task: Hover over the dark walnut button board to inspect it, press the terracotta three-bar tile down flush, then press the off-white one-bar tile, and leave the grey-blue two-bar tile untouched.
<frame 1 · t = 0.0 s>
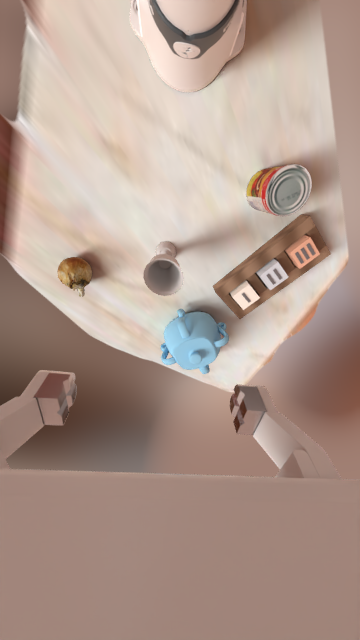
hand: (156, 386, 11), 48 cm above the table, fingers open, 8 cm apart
onion: (80, 269, 57), on the table
tile two: (272, 274, 54), point 5 cm above the table, slide at 0.0 cm
tile one: (244, 295, 57), point 5 cm above the table, slide at 0.0 cm
chalice: (165, 251, 55), on the table
decorative pot: (191, 329, 68), on the table
tile three: (302, 252, 52), point 5 cm above the table, slide at 0.0 cm
button board: (265, 268, 58), on the table
canned food: (263, 190, 49), on the table
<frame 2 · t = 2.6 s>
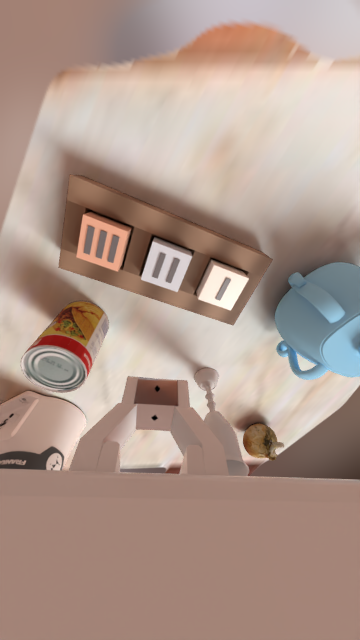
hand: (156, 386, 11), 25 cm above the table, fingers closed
onion: (255, 426, 56), on the table
tile two: (166, 265, 29), point 5 cm above the table, slide at 0.0 cm
tile one: (221, 285, 31), point 5 cm above the table, slide at 0.0 cm
chalice: (206, 376, 46), on the table
decorative pot: (315, 303, 38), on the table
tile three: (104, 242, 27), point 5 cm above the table, slide at 0.0 cm
button board: (166, 255, 33), on the table
canned food: (86, 320, 38), on the table
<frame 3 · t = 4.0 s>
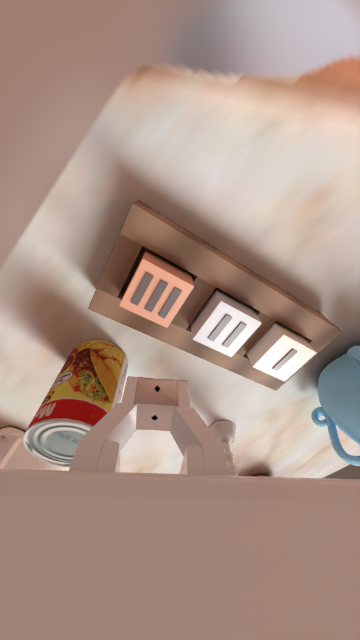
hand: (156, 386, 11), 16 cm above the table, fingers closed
tile two: (224, 324, 24), point 5 cm above the table, slide at 0.0 cm
tile one: (279, 352, 26), point 5 cm above the table, slide at 0.0 cm
chalice: (222, 427, 41), on the table
decorative pot: (357, 370, 35), on the table
tile three: (156, 290, 21), point 5 cm above the table, slide at 0.0 cm
button board: (216, 304, 28), on the table
canned food: (100, 360, 32), on the table
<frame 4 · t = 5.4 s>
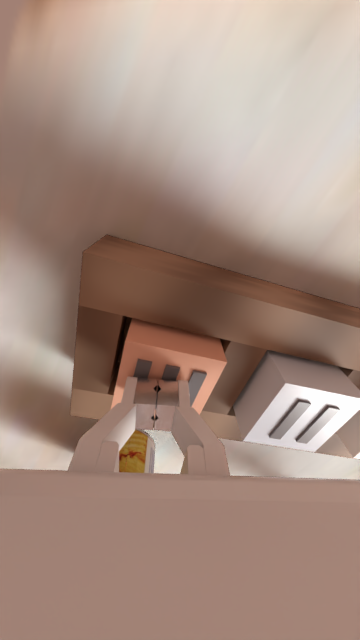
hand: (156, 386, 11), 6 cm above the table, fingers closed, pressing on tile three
tile two: (291, 402, 14), point 5 cm above the table, slide at 0.0 cm
tile three: (165, 370, 13), point 4 cm above the table, slide at 0.7 cm, touching gripper
button board: (264, 353, 18), on the table
canned food: (118, 444, 24), on the table
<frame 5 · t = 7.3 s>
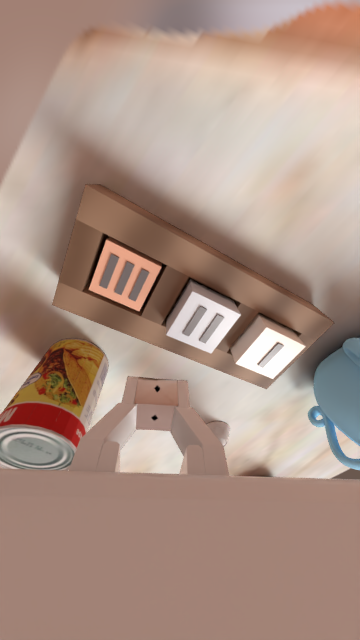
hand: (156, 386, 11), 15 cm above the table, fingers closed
tile two: (201, 317, 22), point 5 cm above the table, slide at 0.0 cm
tile one: (265, 346, 24), point 5 cm above the table, slide at 0.0 cm
chalice: (215, 429, 39), on the table
decorative pot: (357, 365, 32), on the table
tile three: (126, 273, 21), point 3 cm above the table, slide at 2.1 cm
button board: (196, 296, 26), on the table
canned food: (79, 361, 30), on the table
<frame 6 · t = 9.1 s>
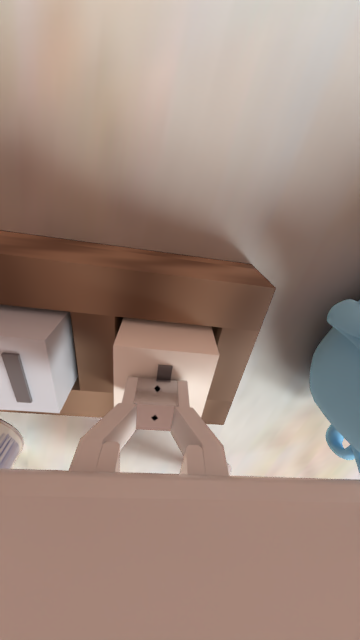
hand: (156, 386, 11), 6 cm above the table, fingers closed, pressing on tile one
tile two: (15, 358, 12), point 5 cm above the table, slide at 0.0 cm
tile one: (163, 370, 13), point 5 cm above the table, slide at 0.1 cm, touching gripper
button board: (54, 315, 16), on the table
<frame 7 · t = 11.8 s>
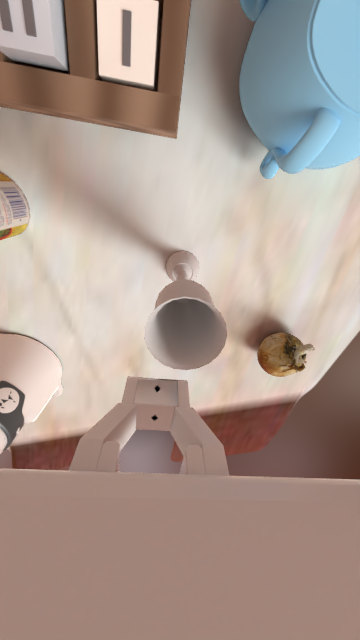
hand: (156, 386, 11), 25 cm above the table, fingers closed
onion: (274, 341, 41), on the table
tile two: (26, 13, 18), point 5 cm above the table, slide at 0.0 cm
tile one: (129, 48, 21), point 3 cm above the table, slide at 2.1 cm
chalice: (182, 267, 34), on the table
decorative pot: (309, 81, 24), on the table
button board: (53, 44, 22), on the table
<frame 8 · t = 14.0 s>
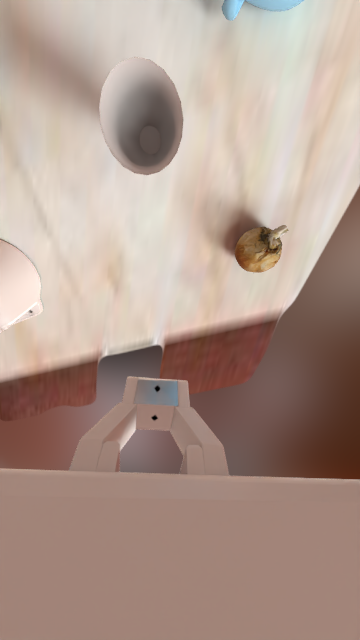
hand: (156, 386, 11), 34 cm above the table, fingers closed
onion: (252, 245, 42), on the table
chalice: (155, 151, 34), on the table
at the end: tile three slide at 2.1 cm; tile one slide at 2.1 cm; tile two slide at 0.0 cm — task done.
